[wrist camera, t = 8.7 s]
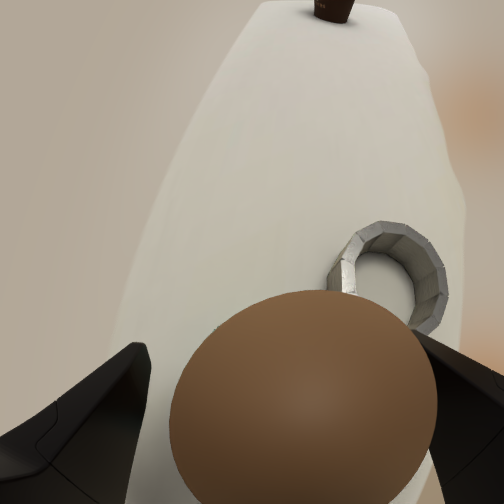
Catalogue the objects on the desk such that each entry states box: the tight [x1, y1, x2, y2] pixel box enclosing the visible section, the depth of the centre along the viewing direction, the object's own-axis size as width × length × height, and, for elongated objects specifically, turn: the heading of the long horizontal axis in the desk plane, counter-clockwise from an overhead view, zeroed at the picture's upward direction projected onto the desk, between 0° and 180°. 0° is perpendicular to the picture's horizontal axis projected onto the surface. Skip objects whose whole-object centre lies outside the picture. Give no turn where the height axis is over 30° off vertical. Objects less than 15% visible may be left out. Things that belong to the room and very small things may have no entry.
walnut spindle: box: [169, 290, 437, 504], centre depth 9 cm, size 4×4×13 cm
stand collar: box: [327, 221, 449, 336], centre depth 16 cm, size 8×8×3 cm
